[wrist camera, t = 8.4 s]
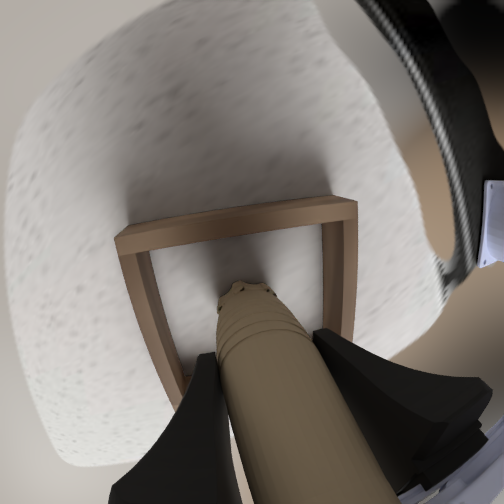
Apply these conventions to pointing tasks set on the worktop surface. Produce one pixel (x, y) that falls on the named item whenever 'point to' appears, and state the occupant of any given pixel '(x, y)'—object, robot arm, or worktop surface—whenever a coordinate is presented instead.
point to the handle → (289, 409)
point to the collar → (228, 225)
